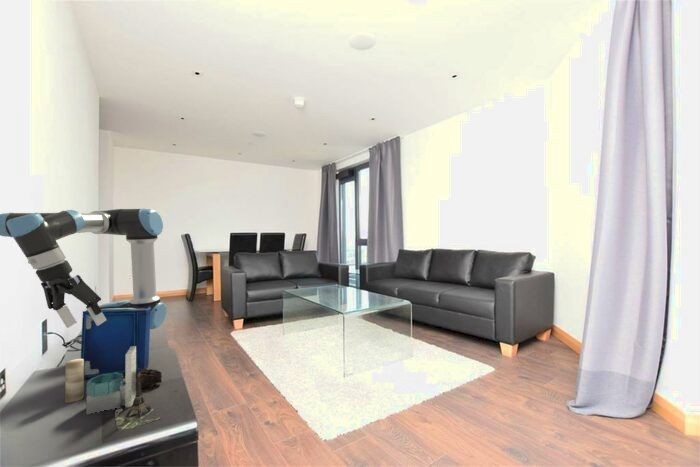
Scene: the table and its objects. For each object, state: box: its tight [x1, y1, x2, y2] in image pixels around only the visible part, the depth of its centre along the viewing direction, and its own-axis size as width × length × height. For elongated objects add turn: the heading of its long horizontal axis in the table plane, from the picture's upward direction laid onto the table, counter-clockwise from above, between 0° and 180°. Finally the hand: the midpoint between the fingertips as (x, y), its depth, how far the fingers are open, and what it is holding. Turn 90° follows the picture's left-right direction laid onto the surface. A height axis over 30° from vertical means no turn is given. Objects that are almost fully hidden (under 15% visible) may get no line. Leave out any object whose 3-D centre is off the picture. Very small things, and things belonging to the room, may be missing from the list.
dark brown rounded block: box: [123, 368, 163, 390], centre depth 107 cm, size 18×7×6 cm, turn 119°
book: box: [80, 306, 151, 379], centre depth 120 cm, size 22×7×25 cm, turn 108°
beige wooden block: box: [64, 358, 85, 404], centre depth 100 cm, size 4×4×12 cm
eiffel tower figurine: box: [114, 372, 161, 430], centre depth 91 cm, size 15×10×13 cm
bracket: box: [85, 346, 137, 415], centre depth 97 cm, size 8×11×16 cm
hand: (86, 324), depth 100 cm, fingers open, 13 cm apart
